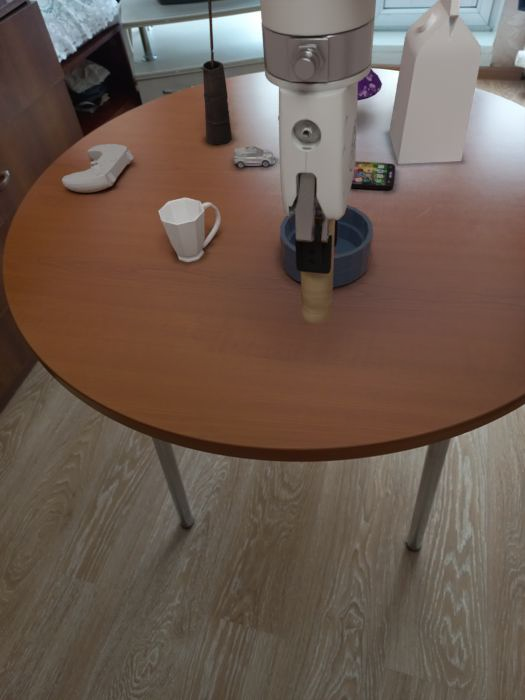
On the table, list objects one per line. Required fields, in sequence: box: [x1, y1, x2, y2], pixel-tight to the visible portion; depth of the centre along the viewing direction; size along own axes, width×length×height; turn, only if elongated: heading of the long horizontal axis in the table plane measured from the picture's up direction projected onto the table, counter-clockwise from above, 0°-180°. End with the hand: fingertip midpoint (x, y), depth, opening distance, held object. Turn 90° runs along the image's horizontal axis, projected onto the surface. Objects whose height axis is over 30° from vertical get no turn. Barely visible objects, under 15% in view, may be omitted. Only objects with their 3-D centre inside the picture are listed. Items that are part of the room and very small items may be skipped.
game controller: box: [61, 143, 135, 194], centre depth 98 cm, size 14×4×10 cm
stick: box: [300, 203, 335, 324], centre depth 50 cm, size 3×3×13 cm
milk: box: [388, 0, 482, 165], centre depth 90 cm, size 12×12×26 cm
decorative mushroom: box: [357, 68, 383, 102], centre depth 100 cm, size 12×12×15 cm
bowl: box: [279, 204, 375, 288], centre depth 77 cm, size 13×13×6 cm
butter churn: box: [200, 0, 233, 146], centre depth 95 cm, size 9×10×28 cm
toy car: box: [233, 145, 276, 169], centre depth 98 cm, size 4×8×3 cm, turn 88°
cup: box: [157, 197, 222, 263], centre depth 80 cm, size 7×10×8 cm
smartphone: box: [351, 161, 396, 191], centre depth 93 cm, size 8×1×15 cm
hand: (317, 255), depth 49 cm, fingers closed on stick, 3 cm apart
